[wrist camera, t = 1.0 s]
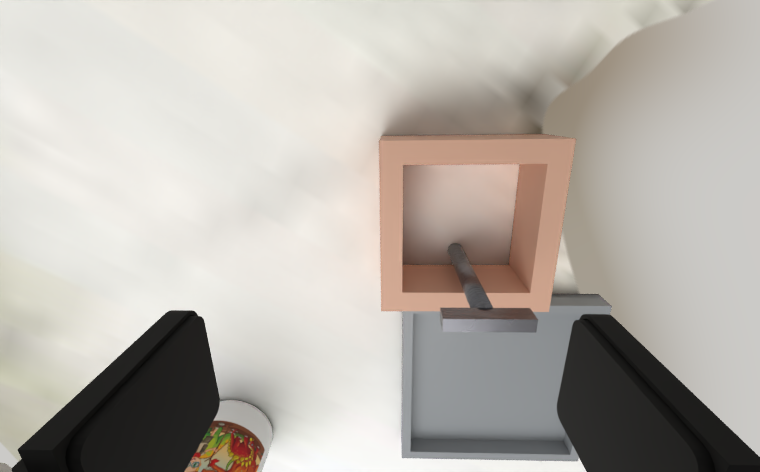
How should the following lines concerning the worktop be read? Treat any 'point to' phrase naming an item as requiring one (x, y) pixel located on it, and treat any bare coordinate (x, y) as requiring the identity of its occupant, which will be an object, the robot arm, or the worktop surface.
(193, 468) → the milk bottle
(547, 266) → the ring
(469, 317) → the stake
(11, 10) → the worktop surface
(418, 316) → the tray
